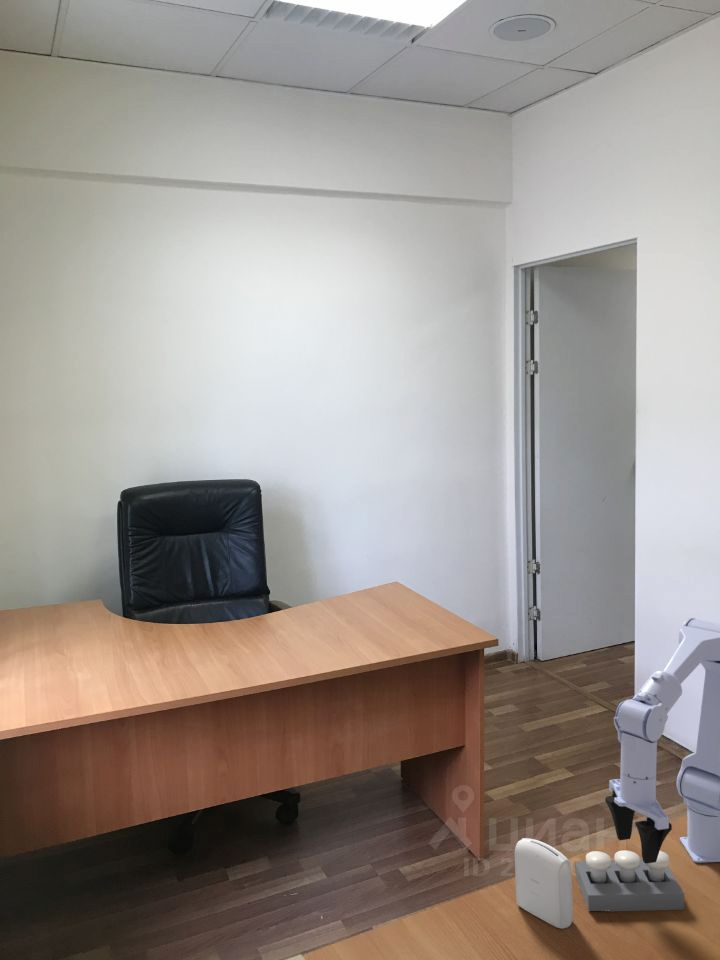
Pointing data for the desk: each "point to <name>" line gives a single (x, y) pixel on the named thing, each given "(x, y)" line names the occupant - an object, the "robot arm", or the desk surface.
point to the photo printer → (544, 882)
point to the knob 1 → (598, 865)
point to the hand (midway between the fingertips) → (636, 850)
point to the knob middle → (627, 864)
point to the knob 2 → (658, 867)
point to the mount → (629, 890)
